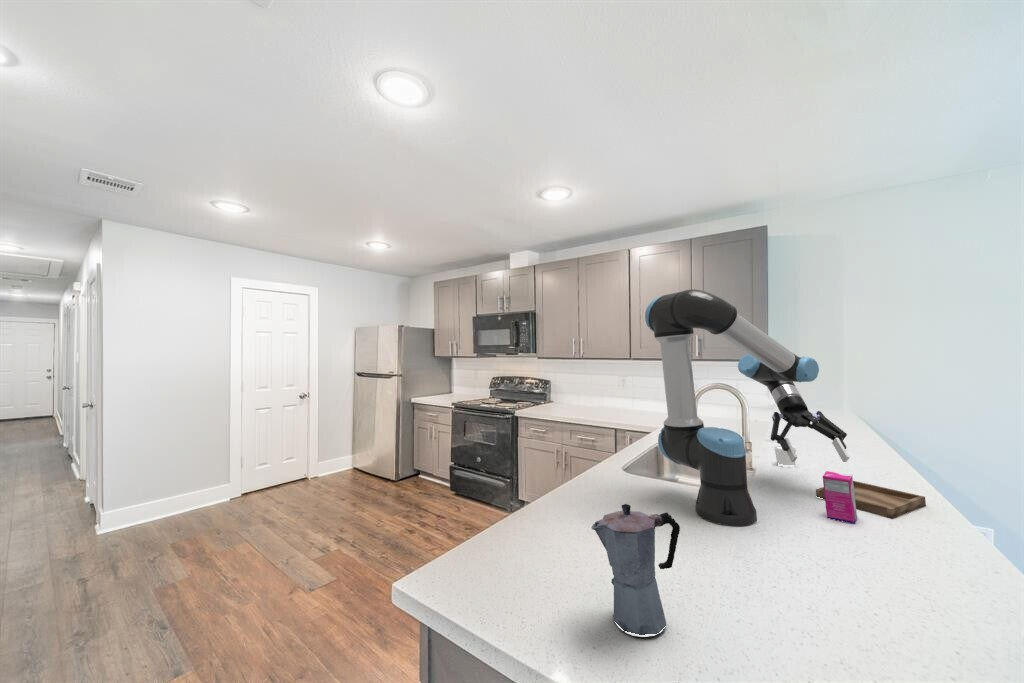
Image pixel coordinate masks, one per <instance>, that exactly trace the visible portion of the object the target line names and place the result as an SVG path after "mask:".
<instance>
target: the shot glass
mask: <svg viewBox="0 0 1024 683" xmlns="http://www.w3.org/2000/svg"><path fill="white" fill-rule="evenodd" d="M793 449H794V451H795V453H796V452H797V449H796V448H795V447H793ZM774 453H775V459H776V464H777V463H779V464H783V465H795V466H796V461H795V462H791V460H790V458H789V456H788V453H787V451H784V450H783V449H782V447H781V445H778V446H774Z"/></svg>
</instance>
